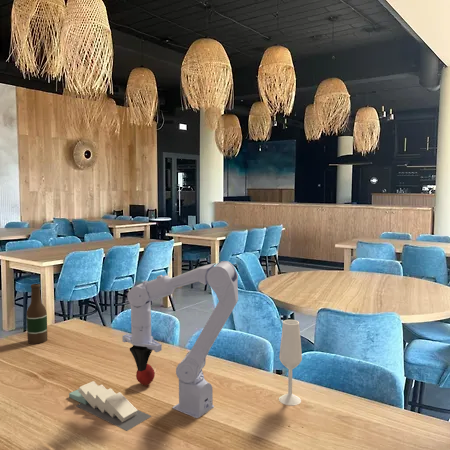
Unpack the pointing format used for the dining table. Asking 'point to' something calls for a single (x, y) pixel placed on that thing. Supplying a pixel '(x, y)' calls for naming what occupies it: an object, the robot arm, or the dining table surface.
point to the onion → (145, 375)
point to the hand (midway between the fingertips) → (141, 369)
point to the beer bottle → (36, 318)
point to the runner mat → (115, 420)
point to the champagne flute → (290, 356)
